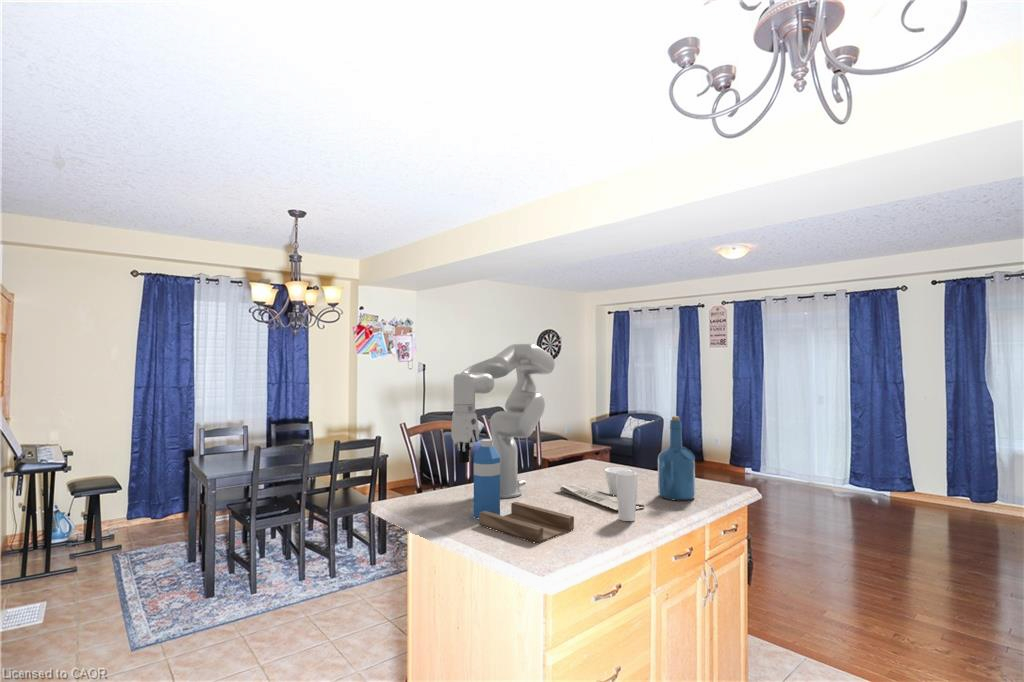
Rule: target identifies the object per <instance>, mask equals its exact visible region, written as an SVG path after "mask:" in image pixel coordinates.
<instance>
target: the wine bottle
mask: <svg viewBox="0 0 1024 682" xmlns="http://www.w3.org/2000/svg"><path fill="white" fill-rule="evenodd" d="M682 427H683V426H682V422H681V420H680V416H678V415H677V416H676V415H675V416H674V415H673V416H671V420H670V422H669V446H668V447H667V448H665V449H663V450H662V451H660V453H659V454H658V455H657V484H658V485H657V492H658V495H659V496H660V497H661V498H663V497H664V498H663V499H666V498H667V499H666V500H669V499H674V500H673V501H676V500H685V501H689V500H693V499H694V498H695V496H696V472H695V471H696V462H695V461H696V460H695V459H696V456H695V455H694V453H693V452H692V451H691V450H690V449H688V448H687V447H685V446H683V439H682V430H683V428H682Z"/></svg>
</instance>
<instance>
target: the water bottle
mask: <svg viewBox="0 0 1024 682" xmlns="http://www.w3.org/2000/svg"><path fill="white" fill-rule="evenodd" d="M483 511H487V512H491V513H494V514H498V515H501V498H500V456H499V454H498V453H497V451H496V450H495V448H494V447H493V441H492V439H491V438H483V439H480V446H479V447H478V449H477V451H475V454H474V455H473V518H474V517H475V518H474V519H476V518H479V512H483Z"/></svg>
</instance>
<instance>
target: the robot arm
mask: <svg viewBox="0 0 1024 682" xmlns="http://www.w3.org/2000/svg"><path fill="white" fill-rule="evenodd" d="M554 369H555V360H554V358H553V356H552V355H551V354H550V352H548V351H546V350H544V349H543V348H541V347H540V346H538V345H536V344H533V343H514V344H510V345H509V346H507V347H506V348H504V349H503V350H502V351H500V352H499V353H497V354H496V355H494V356H493V357H491V358H488V359H485V360H482V361H479V362H477V363H475V364H472V365H470V366H468V367H467V368H466V369H464V370H463V371H462V372H460V373H457V374H454V375H453V406H452V407H453V408H452V409H453V413H452V419H451V426H450V427H451V428H450V429H451V433H450V434H451V440H452V443H453V444H454V445H456V446H457V451H458V456H459V457H458V463H461V464H467V463H470V451H471V449H472V448H474V447H476V446H477V442H479V440H480V432H479V420H478V415H477V413H476V395H477V394H480V395H484V394H488V393H490V392H492V390H493V389H494V387H495V380H496V379H500V378H504V377H506V376H507V375H509V374H510V373H512V372H513V371H514V370H515V372H516V379H517V380H516V384H515V386H514V387H513V389H512V391H511V392H510V394H509V395H508V397H507V399H506V401H505V404H504V408H505V410H498V411H497V412H495V413H493V414H492V415H491V417H490V420H489V427H490V432H491V438H492V445H493V447H494V448H495V450H496V451H497V453H498V454H499V456H500V499H507V498H509V499H510V498H516V497H519V496H521V495H522V489H520V488H521V487H522V486H526V483H527V482H526V481H525V480H519V478H518V445H517V442H516V440H515V438H519V439H527V438H529V437H531V435H532V434H533V432H534V431H535V429H536V427H537V426H538V424H539V422H540V420H541V418H542V416H543V414H544V412H545V407H546V402H545V397H544V396H543V395H542V394H541V393H539V392H536V391H537V385H536V382H535V381H534V379H533V376H532V375H549V374H551V373H552V372H554Z"/></svg>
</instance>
